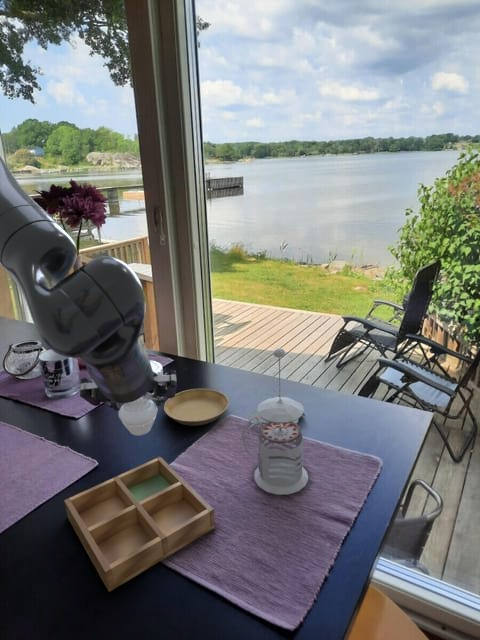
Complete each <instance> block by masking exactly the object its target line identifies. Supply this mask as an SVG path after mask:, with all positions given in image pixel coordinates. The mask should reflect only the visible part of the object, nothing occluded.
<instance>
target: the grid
mask: <svg viewBox="0 0 480 640" xmlns="http://www.w3.org/2000/svg"><path fill="white" fill-rule="evenodd" d="M63 502H64V508H65V511H66V515H67V520H68V522H69V523H70V525H71V526H72V528H73V530H74V532H75V534H76V535H77V537H78V539H79V541H80V543H81V544H82V546H83V548H84V550H85V552H86V554H87V555H88V557H89V559H90V560H91V562H92V564H93V566H94V567H95V569H96V572H97V573H98V575H99V577H100V580H101V581H102V583H103V584H104V586H105V588H106V589H107V591H108V593H110V592H112V591H113V590H115V589H117V588H118V587H120V586H122V585H123V584H125V583H127V582H129V581H130V580H132V579H133V578H135V577H137V576H138V575H140V574H142V573H144V572H145V571H146V570H148V569H150V568H151V567H153V566H155V565H156V564H158V563H160V562H161V561H163V560H165V559H166V558H168V557H169V556H171V555H173V554H174V553H176V552H178V551H179V550H181V549H182V548H184V547H186V546H187V545H190V544H191V543H192V542H194V541H196V540H198V539H199V538H200V537H202V536H204V535H206V534H208V533H209V532H211V531H212V530H214V529H215V528H216V520H215V519H216V517H215V509H214V507H212V505H210V504H209V503H208V502H207V501H206V500H205V499H204V498H203V497H202V495H200V493H198V492H197V491H196V490H195V489H194V488H193V487H192V486H191V485H190V484H189V483H188V482H187V481H186V480H185V479H184V478H183V477H182V476H181V475H180V474H178V472H177V471H176V470H175V469H174V468H173V467H171V466H170V465H169V463H168V462H167V461H165V459H164V458H162V456H157V457H156V458H154V459H152V460H149V461H147V462H145V463H143V464H140V465H138V466H136V467H134V468H131V469H130V470H128V471H127V470H126V471H125V472H123V473H121V474H119V475H116V476H114V477H112V478H110V479H108V480H105V481H104V482H101V483H98V484H97V485H94V486H93V487H90V488H89V489H85V490H84V491H82V492H79V493H76V494H75V495H73V496H70V497H69V498H66V499H64V500H63Z"/></svg>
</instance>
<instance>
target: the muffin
mask: <svg viewBox="0 0 480 640" xmlns="http://www.w3.org/2000/svg"><path fill="white" fill-rule="evenodd" d="M158 410H159V409H158V406H157V405H156V402H155V401H153V400H152V399H151V400H147V399H144V398H139V399H137V400H135V401H133V402H129V403H123V404H122V405H121V406H120V410H118V413H117V414H118V415H117V416H118V418H119V420H120V421H121V423H122V425H123V426H124V427H125V428H126V429H127V431H128V432H129V433H130V434H131V435H133V436H136V437H137V436H144V435H146V434H149V433H150V432H151V429H152V427H153V425H154V423H155V422H156V421H155V420H156V419H157V414H158V412H159V411H158Z"/></svg>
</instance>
